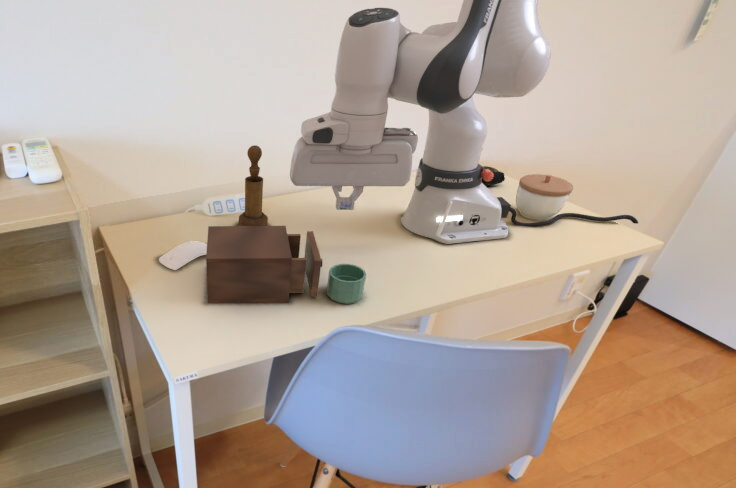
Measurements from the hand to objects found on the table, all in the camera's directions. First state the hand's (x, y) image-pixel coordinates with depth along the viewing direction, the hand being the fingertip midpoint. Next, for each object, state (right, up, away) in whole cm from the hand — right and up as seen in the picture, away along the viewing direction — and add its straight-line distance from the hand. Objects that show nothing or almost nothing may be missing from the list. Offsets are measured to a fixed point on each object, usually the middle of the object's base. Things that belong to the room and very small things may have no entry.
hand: (344, 208), depth 92 cm
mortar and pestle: (-15, +2, +26) cm, 30 cm away
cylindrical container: (+1, -15, +3) cm, 16 cm away
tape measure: (+47, +17, +44) cm, 67 cm away
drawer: (-11, -12, +5) cm, 17 cm away
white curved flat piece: (-29, -6, +15) cm, 33 cm away
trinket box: (+51, +6, +29) cm, 59 cm away
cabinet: (-17, -13, +6) cm, 22 cm away
